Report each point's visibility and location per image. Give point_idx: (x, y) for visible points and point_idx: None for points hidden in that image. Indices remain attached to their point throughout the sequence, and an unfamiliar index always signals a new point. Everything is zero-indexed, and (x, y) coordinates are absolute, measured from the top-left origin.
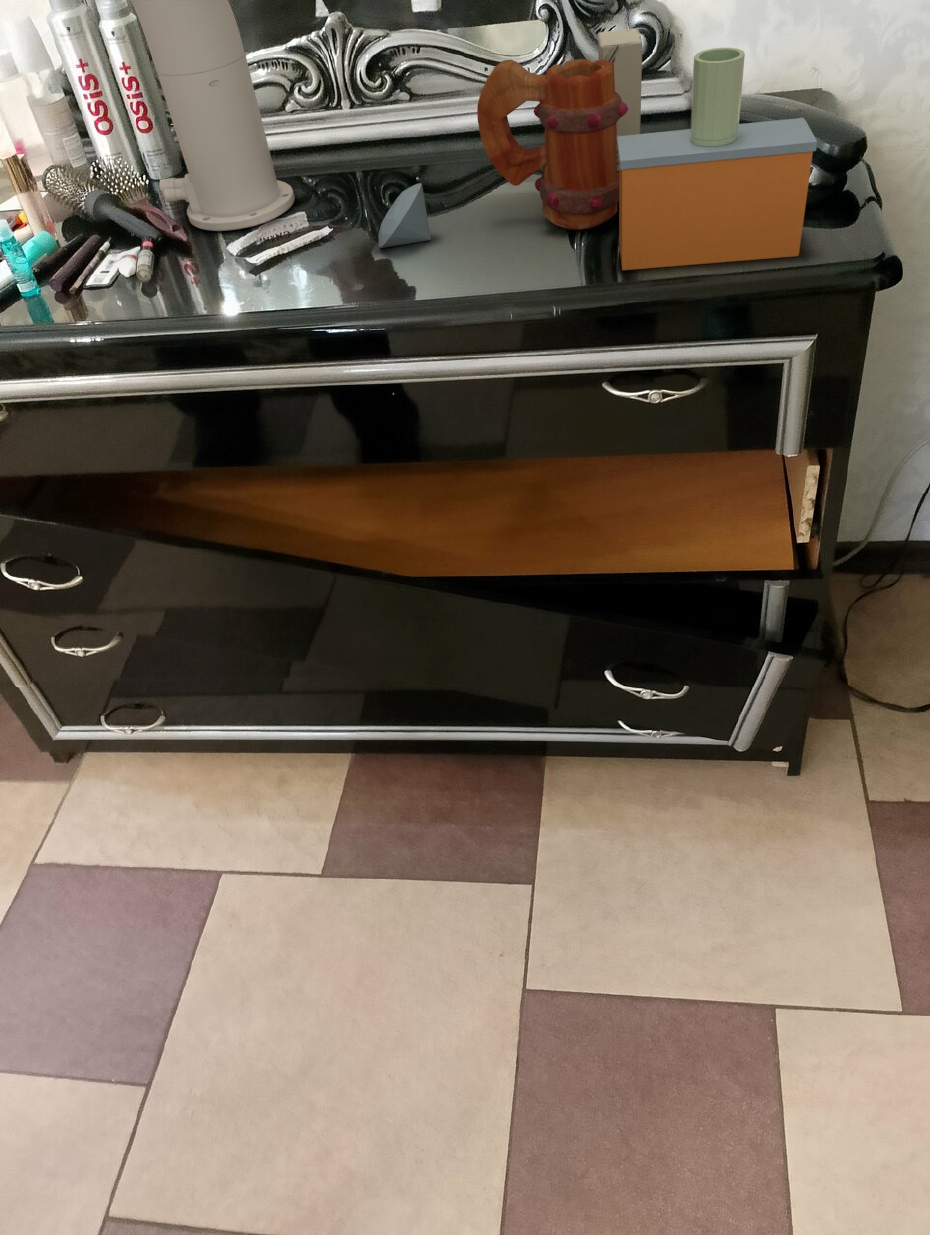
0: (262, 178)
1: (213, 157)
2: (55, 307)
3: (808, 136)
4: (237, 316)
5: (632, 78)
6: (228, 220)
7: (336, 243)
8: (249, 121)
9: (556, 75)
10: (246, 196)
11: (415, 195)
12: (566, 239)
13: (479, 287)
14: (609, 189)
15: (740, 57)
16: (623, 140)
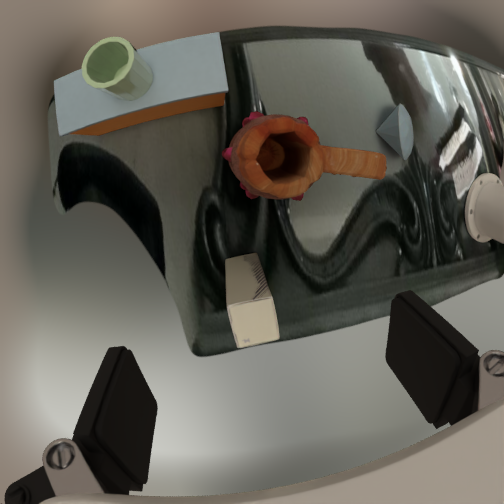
0: (488, 201)
1: None
2: None
3: (58, 90)
4: (449, 54)
5: (235, 288)
6: (489, 175)
7: (432, 140)
8: None
9: (310, 134)
10: (489, 188)
11: (399, 118)
12: None
13: (322, 49)
14: (237, 133)
15: (86, 54)
16: (220, 78)
